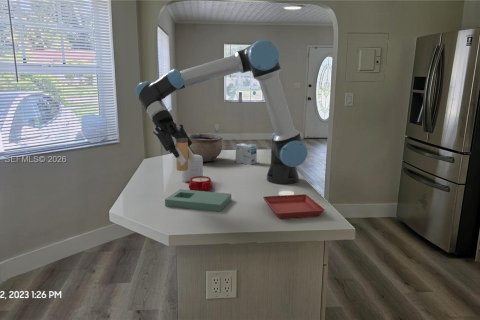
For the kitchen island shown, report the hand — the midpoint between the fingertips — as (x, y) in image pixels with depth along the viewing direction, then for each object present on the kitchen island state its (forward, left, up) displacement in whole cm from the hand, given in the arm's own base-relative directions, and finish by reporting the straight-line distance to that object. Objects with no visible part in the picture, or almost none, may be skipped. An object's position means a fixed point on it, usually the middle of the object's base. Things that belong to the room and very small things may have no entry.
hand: (188, 162), depth 140 cm
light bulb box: (-3, -76, -17) cm, 78 cm away
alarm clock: (+3, -20, -17) cm, 27 cm away
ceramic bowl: (+22, -74, -17) cm, 79 cm away
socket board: (-3, -2, -16) cm, 17 cm away
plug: (+3, -2, -3) cm, 5 cm away
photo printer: (+12, -32, -17) cm, 38 cm away
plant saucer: (-39, -4, -17) cm, 43 cm away
